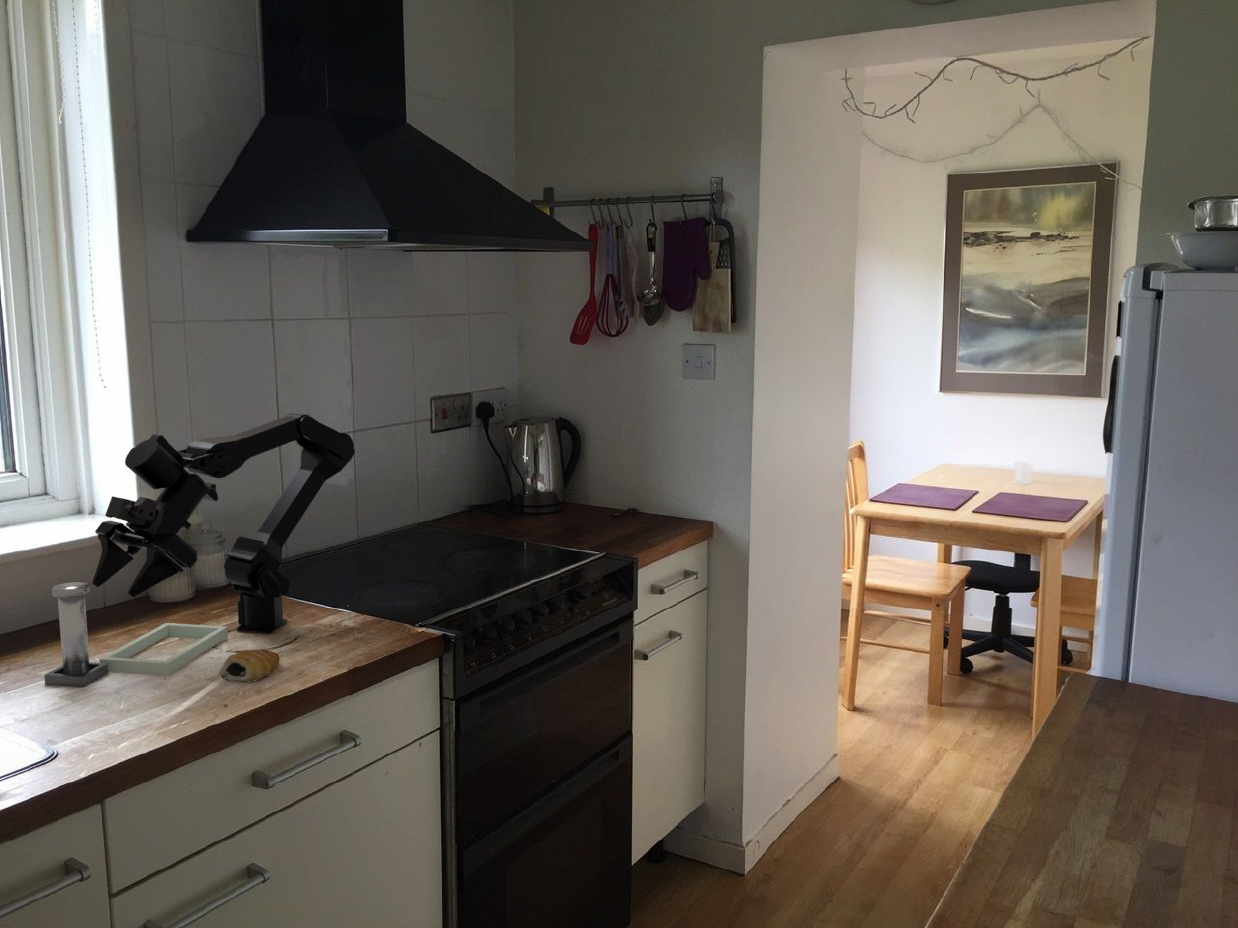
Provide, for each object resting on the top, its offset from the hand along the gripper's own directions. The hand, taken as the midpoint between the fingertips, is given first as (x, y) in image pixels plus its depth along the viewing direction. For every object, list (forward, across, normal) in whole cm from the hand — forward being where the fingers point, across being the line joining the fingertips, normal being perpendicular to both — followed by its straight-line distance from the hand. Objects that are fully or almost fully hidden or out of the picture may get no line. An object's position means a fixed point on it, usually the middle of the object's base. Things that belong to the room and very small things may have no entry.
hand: (112, 590), depth 164 cm
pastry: (+1, +17, +17) cm, 24 cm away
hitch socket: (+14, 0, +5) cm, 14 cm away
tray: (+3, 0, +15) cm, 15 cm away
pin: (+13, 0, +4) cm, 14 cm away
